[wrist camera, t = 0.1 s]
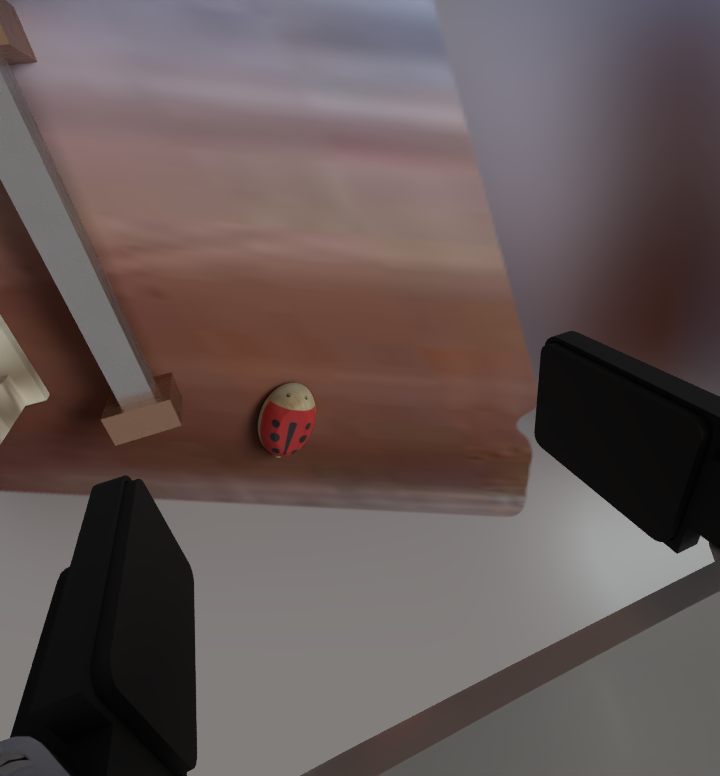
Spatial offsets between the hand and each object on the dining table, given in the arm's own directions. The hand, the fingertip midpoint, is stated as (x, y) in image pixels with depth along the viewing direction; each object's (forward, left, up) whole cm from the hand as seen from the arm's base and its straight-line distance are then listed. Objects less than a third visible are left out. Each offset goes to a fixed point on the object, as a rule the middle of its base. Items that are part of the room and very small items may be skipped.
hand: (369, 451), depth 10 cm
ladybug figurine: (+22, 0, -37) cm, 43 cm away
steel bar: (0, -13, -37) cm, 39 cm away
